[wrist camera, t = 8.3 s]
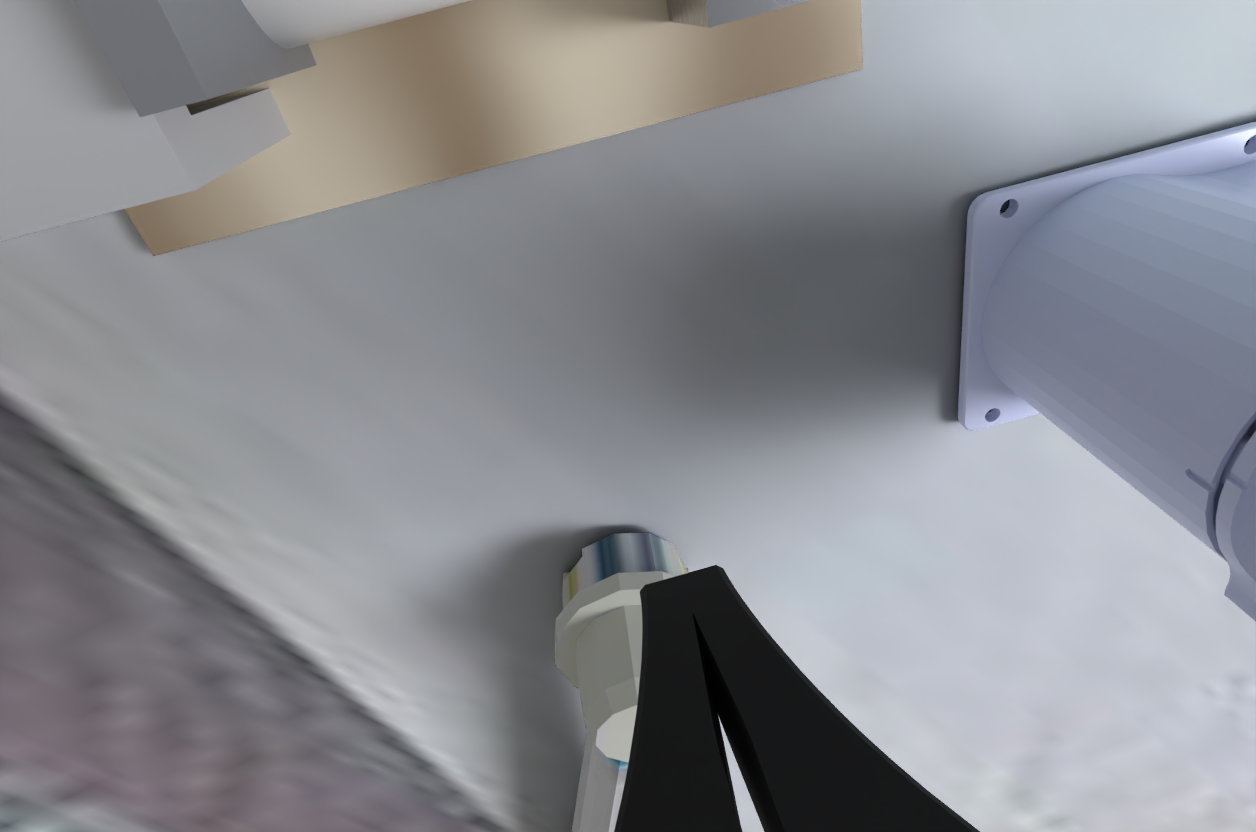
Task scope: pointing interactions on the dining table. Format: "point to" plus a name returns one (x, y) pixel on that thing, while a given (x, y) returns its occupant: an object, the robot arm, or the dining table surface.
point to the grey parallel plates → (721, 10)
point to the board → (493, 98)
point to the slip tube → (222, 41)
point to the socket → (101, 127)
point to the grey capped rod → (607, 659)
